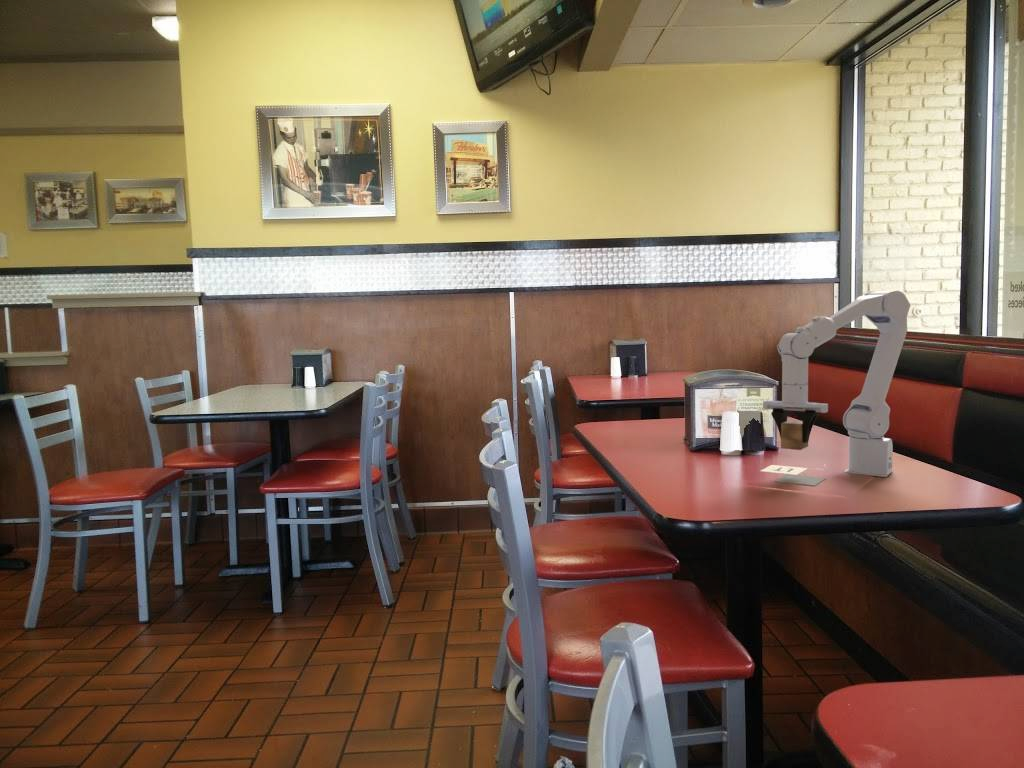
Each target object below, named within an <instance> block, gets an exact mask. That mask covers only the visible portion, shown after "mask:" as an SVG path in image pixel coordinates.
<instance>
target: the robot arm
mask: <svg viewBox="0 0 1024 768" xmlns="http://www.w3.org/2000/svg"><path fill="white" fill-rule="evenodd" d="M910 308H911V303H910V301H909V300H908V297H907V296H906V294H905V293H904V292H902V291H900V290H890V291H889V290H888V291H868V292H866V293H864V294H863V295H860V296H857V297H856V299H855V300H853V301H852V302H850V303H848V304H847V305H846V306H844V307H842V308H841V309H839V310H838V311H836V312H835V313H833V314H832V315H831V316H829V317H827V316H824V315H823V316H820V315H819V316H814V317H812V318H811V322H809V323H807V324H805V325H804V326H798V327H796V330H795V331H794V332H789V333H785V334H784V335H783V336H781V338H780V339H779V343H778V344H776V348H777V352H778V354H779V355H780V357H781V362H782V363H781V365H782V367H781V371H782V372H781V385H782V386H781V389H782V390H781V400H764V401H762V410H772V411H771V416H772V418H773V420H774V423H775V424H776V426H777V430H778V433H779V438H780V439H781V423H783V422H786V421H788V417H789V416H788V414H789V411H792V412H793V411H794V412H795V411H796V412H802V413H801V419H802V420H801V421H803V443H806V442H808V443H809V441H810V435H811V433H812V432H811V431H812V428H813V426H814V424H815V422H816V420H817V418H818V416H819V414H820V413H821V414H822V413H823V414H826V413H828V412H829V404H828V403H822V402H821V403H820V402H812V401H811V402H810V401H809V357H810V356H812V354H813V353H814V350H815V349H816V348H818V347H819V346H821V345H823V344H824V343H827V342H828V341H830V340H831V339H833V338H835V336H836V335H837V331H838V330H839V329H840V328H842V327H844V326H846V325H848V324H850V323H852V322H854V321H856V320H858V319H860V318H863V317H864V316H865V318H867V320H868V321H870V322H871V323H872V324H873V325H874V326H875V327H876V329H878V331H879V337H878V339H877V343H876V346H875V348H874V352H873V355H872V359H871V362H870V364H869V369H868V370H867V374H866V377H865V380H864V383H863V386H862V389H861V392H860V394H859V395H858V396H856V397H855V398H854V399H852V400H851V403H850V406H849V407H848V408H847V410H846V411H845V412H844V414H843V417H842V423H843V426H844V428H845V429H846V430H847V435H849V437H848V439H849V440H848V454H849V455H848V468H846V469H845V470H844V471H843V473H847V474H857V475H858V474H859V475H867V476H873V477H880V478H881V477H882V478H887V477H888V476H889V475H890V474H891V473H893V472H894V470H893V453H894V452H893V451H894V449H893V439H892V438H889V437H885V436H884V435H886V433H887V432H888V430H889V428H890V412H891V408H890V406H889V405H888V403H887V401H886V398H887V394H888V392H889V389H890V387H891V386H890V385H891V382H892V380H893V376H894V373H895V370H896V367H897V365H898V360H899V357H900V354H901V352H902V348H903V345H904V342H905V339H906V336H907V332H908V315H909V311H910Z"/></svg>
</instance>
